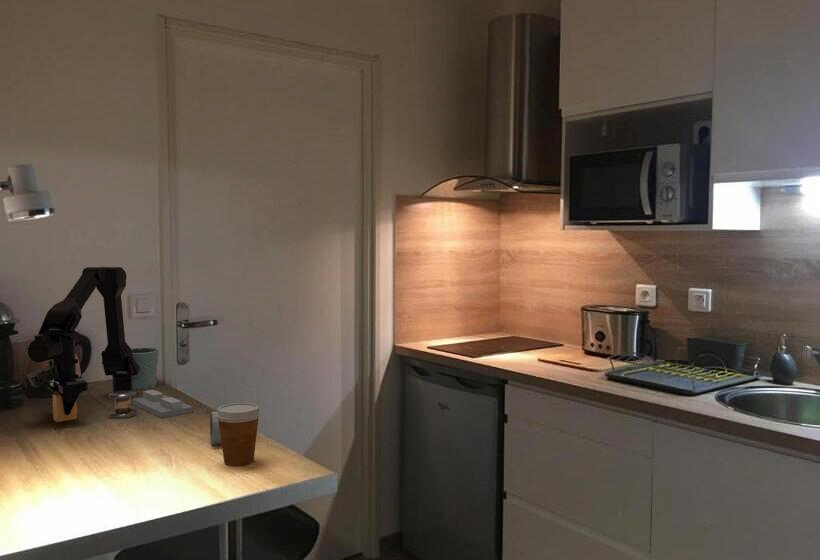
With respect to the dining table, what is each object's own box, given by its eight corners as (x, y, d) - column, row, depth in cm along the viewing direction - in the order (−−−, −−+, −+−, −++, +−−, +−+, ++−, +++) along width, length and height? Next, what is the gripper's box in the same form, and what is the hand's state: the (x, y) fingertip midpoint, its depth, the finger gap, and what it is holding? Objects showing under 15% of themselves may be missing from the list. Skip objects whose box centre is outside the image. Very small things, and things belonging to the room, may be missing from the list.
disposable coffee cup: (213, 458, 156) (212, 404, 155) (255, 452, 160) (255, 400, 159) (220, 471, 147) (219, 415, 146) (265, 465, 151) (265, 410, 150)
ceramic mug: (248, 445, 165) (247, 412, 165) (212, 448, 162) (211, 416, 162) (241, 433, 175) (241, 403, 175) (207, 437, 172) (207, 406, 172)
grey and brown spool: (105, 414, 192) (104, 393, 192) (130, 410, 197) (130, 389, 196) (114, 419, 187) (114, 397, 186) (140, 415, 192) (140, 393, 191)
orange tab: (53, 419, 187) (52, 393, 186) (73, 416, 190) (72, 391, 190) (56, 422, 185) (56, 395, 184) (77, 418, 188) (76, 392, 187)
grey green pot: (152, 381, 234) (151, 346, 233) (163, 387, 226) (163, 350, 225) (121, 386, 227) (120, 349, 226) (131, 391, 220) (131, 353, 219)
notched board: (132, 404, 204) (132, 392, 203) (162, 399, 210) (162, 387, 209) (161, 417, 189) (161, 405, 189) (192, 412, 195) (192, 399, 195)
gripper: (20, 354, 187) (22, 411, 189) (40, 364, 174) (42, 426, 175) (64, 349, 195) (66, 405, 196) (87, 359, 181) (89, 418, 183)
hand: (65, 413), depth 187 cm, fingers open, 3 cm apart
